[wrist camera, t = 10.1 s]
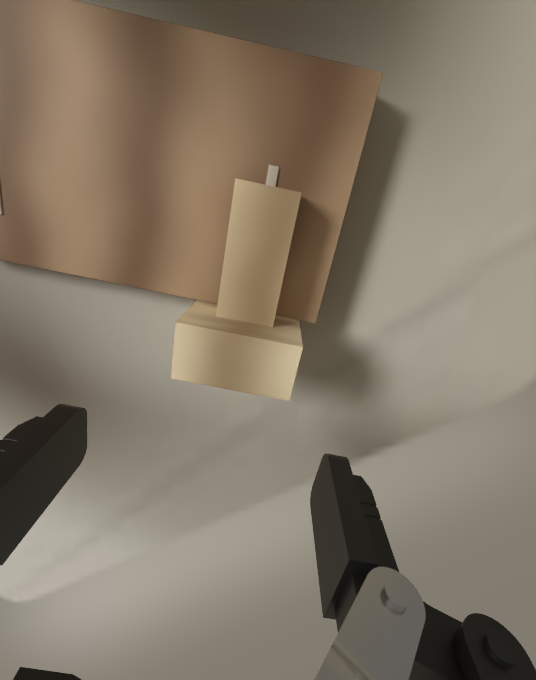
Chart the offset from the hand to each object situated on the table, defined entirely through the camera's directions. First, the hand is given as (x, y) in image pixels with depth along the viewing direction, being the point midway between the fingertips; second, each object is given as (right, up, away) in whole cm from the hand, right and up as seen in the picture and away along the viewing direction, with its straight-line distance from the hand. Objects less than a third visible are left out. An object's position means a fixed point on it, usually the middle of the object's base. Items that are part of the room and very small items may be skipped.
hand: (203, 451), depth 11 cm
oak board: (-5, +13, +8) cm, 16 cm away
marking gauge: (+1, +8, +9) cm, 12 cm away
